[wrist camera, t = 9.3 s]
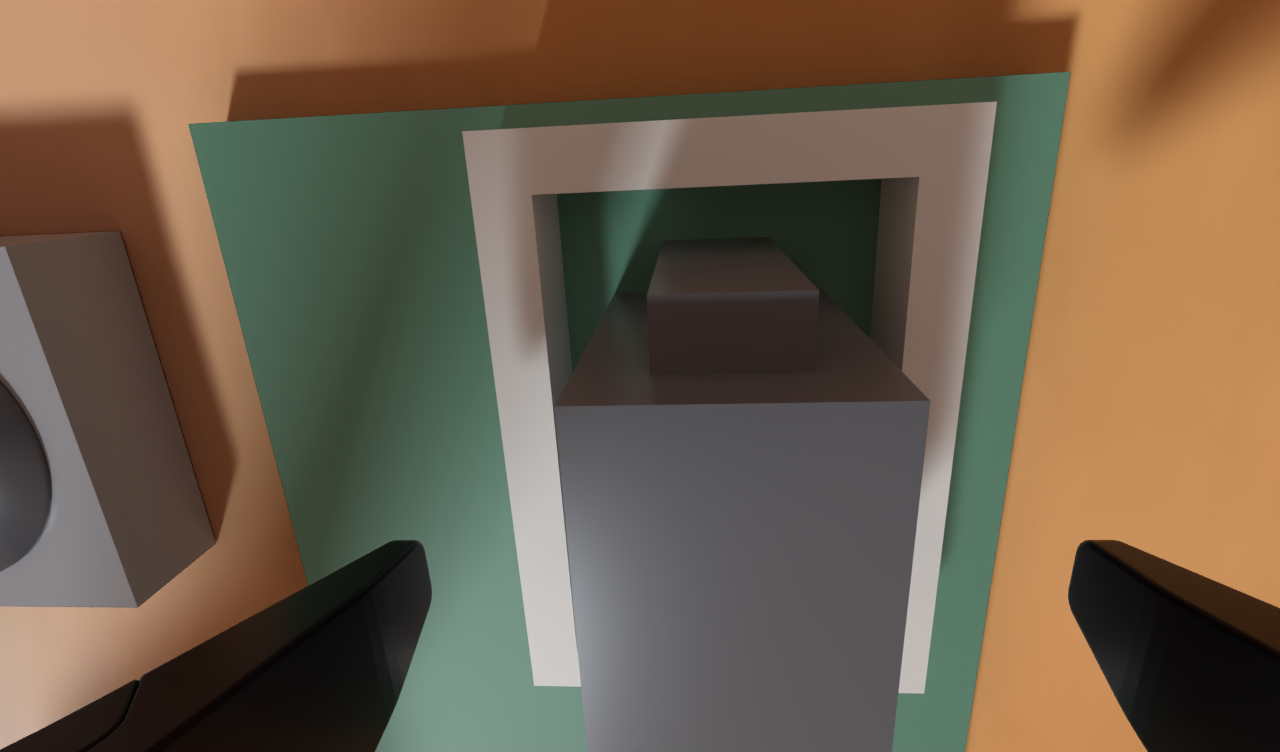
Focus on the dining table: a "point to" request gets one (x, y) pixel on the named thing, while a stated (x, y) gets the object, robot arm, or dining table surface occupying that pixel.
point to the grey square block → (87, 433)
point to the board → (568, 316)
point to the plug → (738, 512)
